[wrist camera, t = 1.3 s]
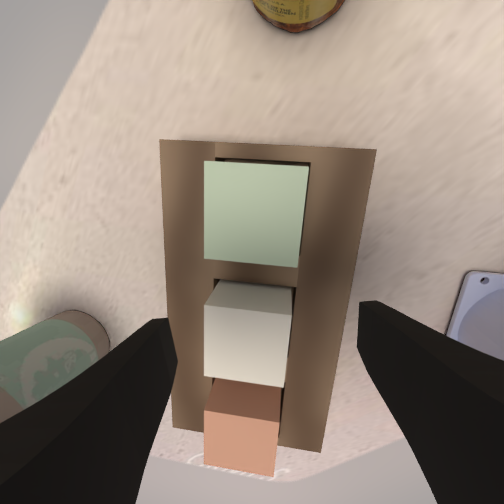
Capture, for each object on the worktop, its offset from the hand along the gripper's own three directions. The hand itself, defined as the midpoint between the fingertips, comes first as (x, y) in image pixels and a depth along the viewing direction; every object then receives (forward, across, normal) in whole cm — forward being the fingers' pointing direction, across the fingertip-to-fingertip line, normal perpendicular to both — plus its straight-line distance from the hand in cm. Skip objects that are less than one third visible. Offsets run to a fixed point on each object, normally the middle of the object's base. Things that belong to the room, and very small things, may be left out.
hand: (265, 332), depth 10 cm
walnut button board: (+10, 0, +4) cm, 11 cm away
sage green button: (+8, 0, -3) cm, 9 cm away
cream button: (+8, +1, +4) cm, 9 cm away
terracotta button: (+8, +2, +11) cm, 14 cm away
